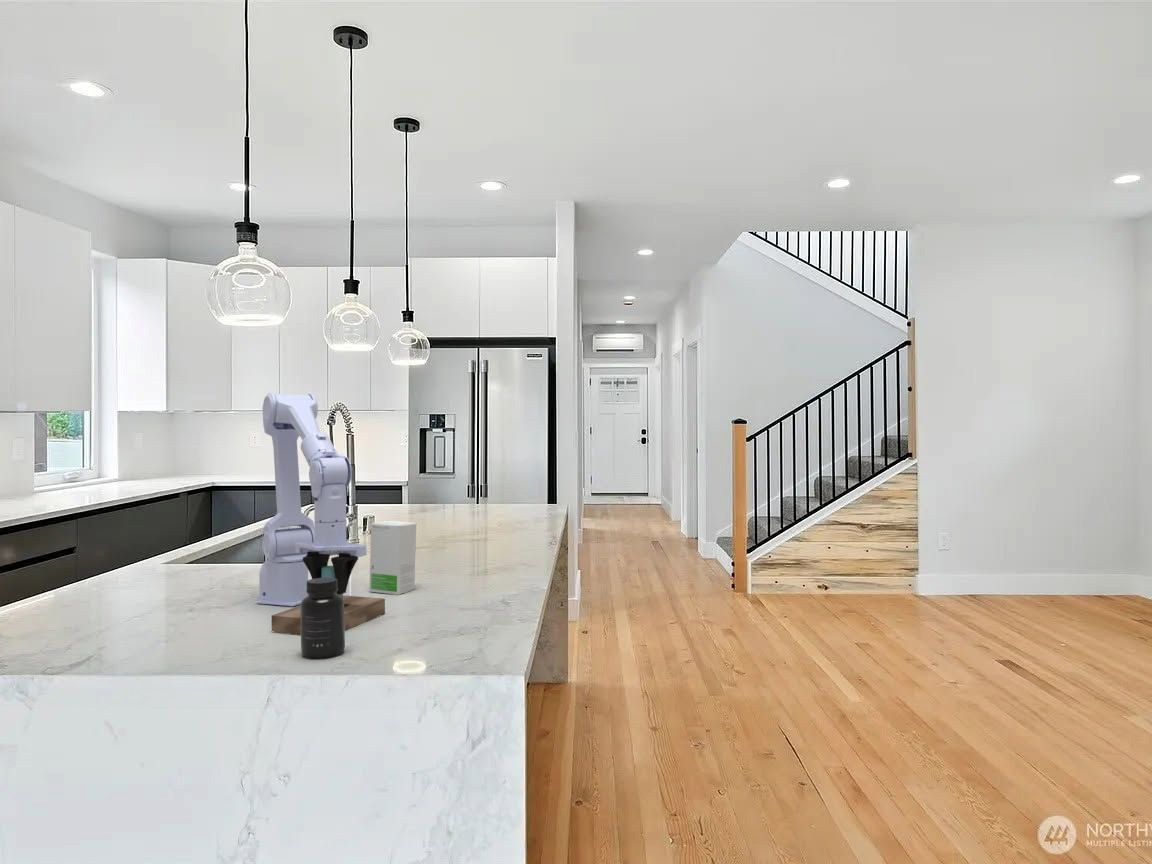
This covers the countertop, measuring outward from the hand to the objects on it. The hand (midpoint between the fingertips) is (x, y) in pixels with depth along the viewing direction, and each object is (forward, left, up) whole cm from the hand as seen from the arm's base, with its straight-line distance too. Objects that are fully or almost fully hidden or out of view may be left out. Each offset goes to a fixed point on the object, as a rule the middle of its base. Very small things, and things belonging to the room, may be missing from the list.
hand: (330, 592), depth 143 cm
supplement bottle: (+11, -17, -6) cm, 21 cm away
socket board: (0, 0, -6) cm, 6 cm away
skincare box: (-4, +28, -6) cm, 29 cm away
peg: (0, 0, -2) cm, 2 cm away
